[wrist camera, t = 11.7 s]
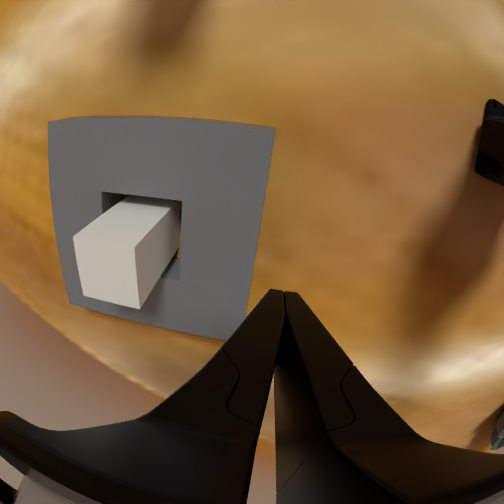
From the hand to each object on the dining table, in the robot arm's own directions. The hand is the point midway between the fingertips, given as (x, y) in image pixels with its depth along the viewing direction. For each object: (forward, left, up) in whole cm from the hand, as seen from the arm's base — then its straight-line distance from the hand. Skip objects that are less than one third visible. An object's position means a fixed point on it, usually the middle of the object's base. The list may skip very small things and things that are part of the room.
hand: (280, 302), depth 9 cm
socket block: (+9, +4, -13) cm, 16 cm away
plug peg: (+9, +4, -13) cm, 16 cm away
